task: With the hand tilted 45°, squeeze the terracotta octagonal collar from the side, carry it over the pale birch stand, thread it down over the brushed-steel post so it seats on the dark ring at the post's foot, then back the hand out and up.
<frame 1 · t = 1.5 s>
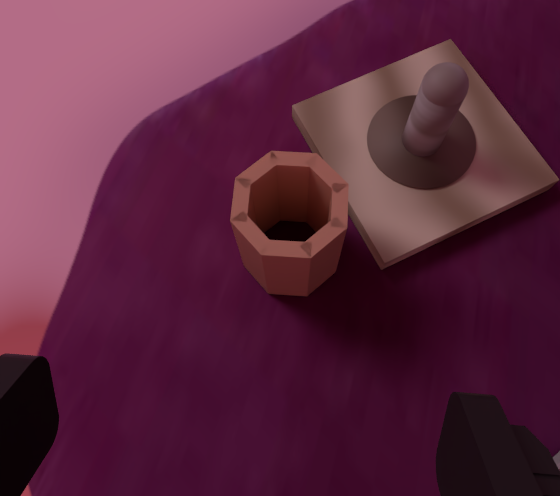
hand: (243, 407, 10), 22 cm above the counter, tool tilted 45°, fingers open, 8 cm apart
collar: (290, 251, 35), on the counter
post stand: (415, 152, 37), on the counter
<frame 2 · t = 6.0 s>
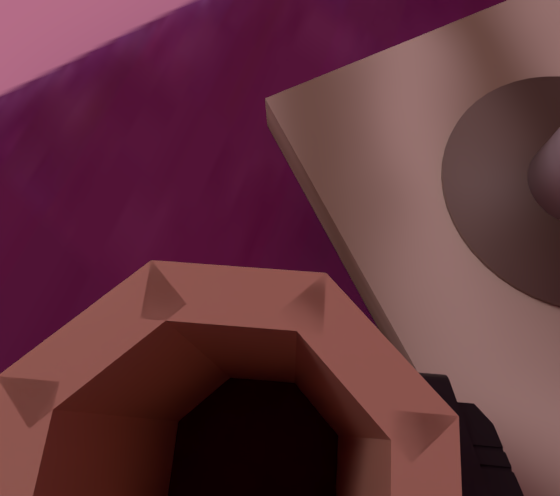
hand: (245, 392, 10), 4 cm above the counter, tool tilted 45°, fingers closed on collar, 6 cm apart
collar: (254, 464, 14), on the counter, touching gripper
post stand: (547, 207, 16), on the counter
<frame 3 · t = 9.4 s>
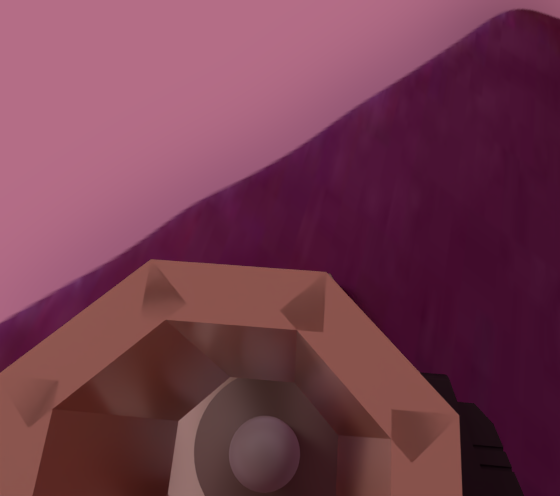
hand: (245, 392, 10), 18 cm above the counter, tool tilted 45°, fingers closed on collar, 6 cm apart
collar: (254, 464, 14), point 14 cm above the counter, touching gripper
post stand: (272, 447, 27), on the counter
when the fingers open (7 cm above the counter, at t = 13.1 s): collar drops 1 cm, resting on post stand.
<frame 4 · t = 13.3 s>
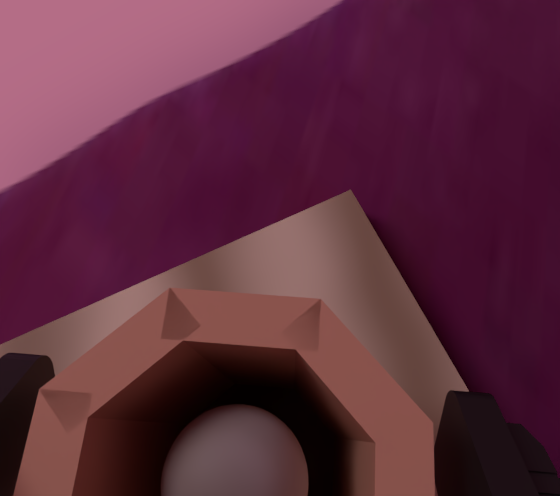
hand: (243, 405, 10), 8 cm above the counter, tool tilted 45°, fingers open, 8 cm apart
collar: (257, 464, 15), point 2 cm above the counter, touching post stand
post stand: (259, 459, 17), on the counter
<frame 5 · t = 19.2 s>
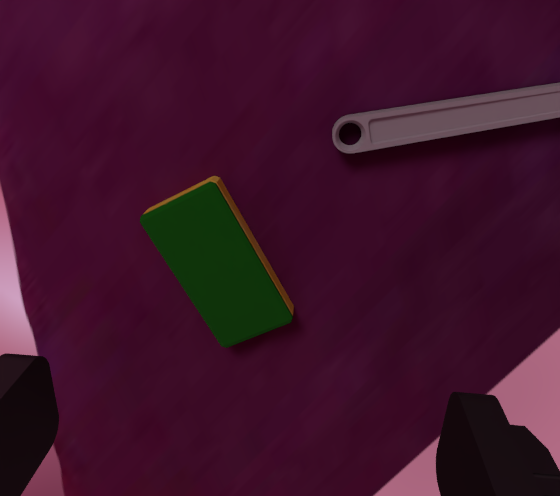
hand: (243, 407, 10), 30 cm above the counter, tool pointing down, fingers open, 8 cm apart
adjustable wrench: (509, 95, 35), on the counter, touching arm
dish sponge: (224, 258, 43), on the counter
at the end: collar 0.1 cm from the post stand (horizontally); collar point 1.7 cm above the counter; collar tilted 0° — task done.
